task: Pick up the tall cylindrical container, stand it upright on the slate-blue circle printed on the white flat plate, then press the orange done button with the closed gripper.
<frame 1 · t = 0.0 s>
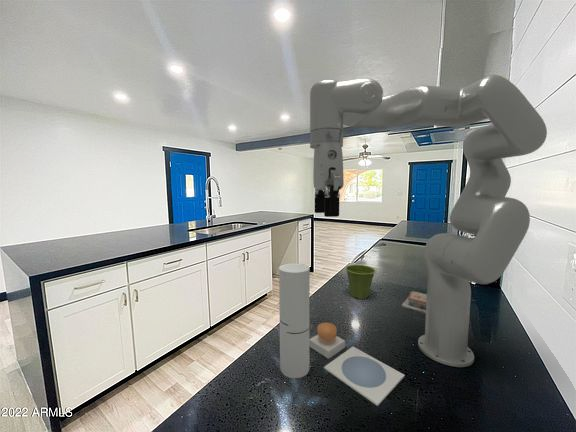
hand: (325, 214, 58), 37 cm above the worktop, tool pointing down, fingers open, 9 cm apart
done button: (327, 331, 67), point 5 cm above the worktop, slide at 0.0 cm
white flat plate: (363, 372, 58), on the worktop
plant pot: (359, 296, 101), on the worktop
button housing: (326, 346, 68), on the worktop
cylindrical container: (294, 368, 60), on the worktop
packaged product: (431, 311, 89), on the worktop
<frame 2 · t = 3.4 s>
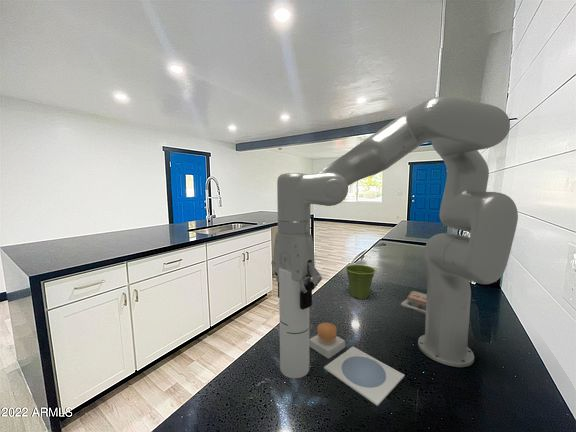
hand: (294, 301, 58), 17 cm above the worktop, tool pointing down, fingers closed on cylindrical container, 7 cm apart
cylindrical container: (294, 368, 60), on the worktop, touching gripper
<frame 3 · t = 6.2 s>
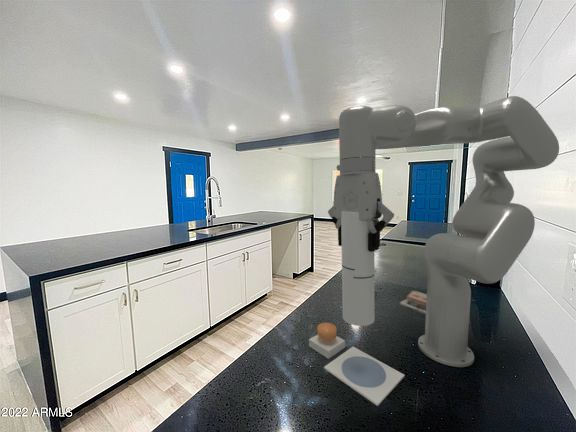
hand: (357, 247, 56), 30 cm above the worktop, tool pointing down, fingers closed on cylindrical container, 7 cm apart
cylindrical container: (358, 318, 57), point 13 cm above the worktop, touching gripper
when the fingers open (18 cm above the worktop, at t = 9.4 s): cylindrical container stays where it is, resting on white flat plate.
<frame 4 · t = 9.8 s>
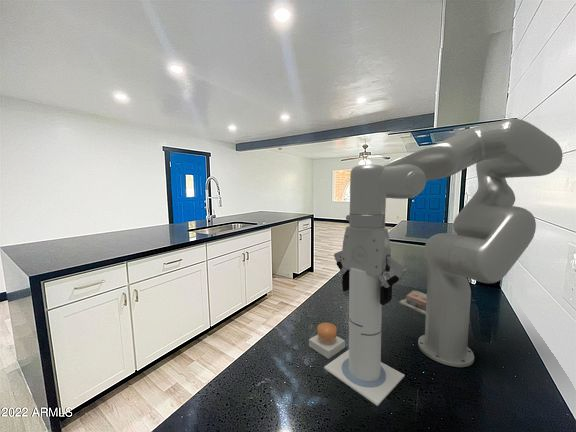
hand: (365, 295, 56), 19 cm above the worktop, tool pointing down, fingers open, 9 cm apart
cylindrical container: (364, 371, 58), resting on white flat plate
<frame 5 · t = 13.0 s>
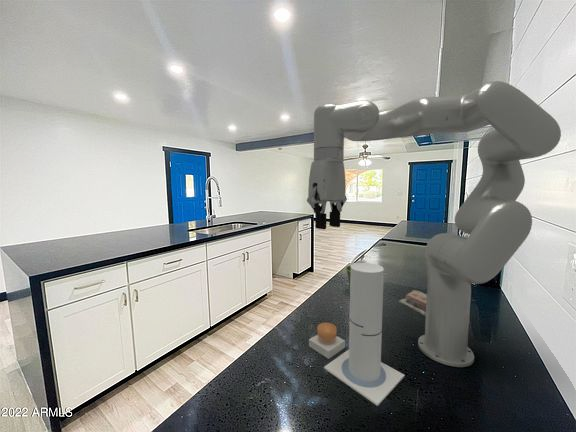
hand: (327, 227, 65), 33 cm above the worktop, tool pointing down, fingers open, 4 cm apart
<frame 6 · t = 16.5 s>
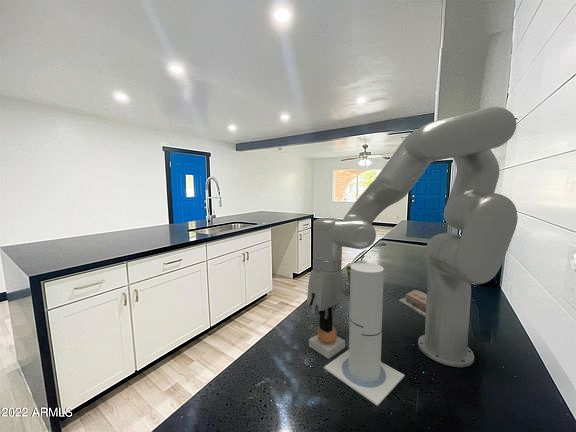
hand: (325, 329, 67), 5 cm above the worktop, tool pointing down, fingers closed
done button: (327, 333, 68), point 4 cm above the worktop, slide at 0.6 cm, touching gripper
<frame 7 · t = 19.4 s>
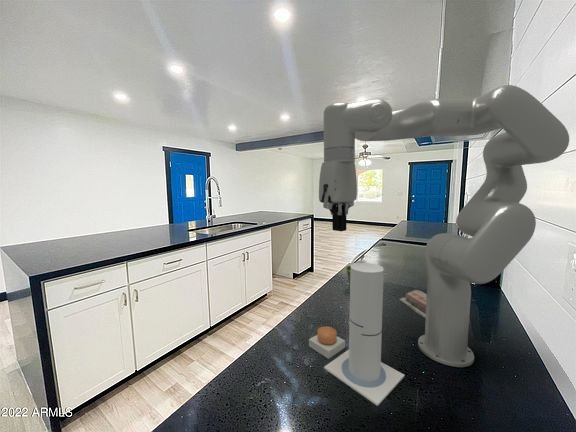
hand: (339, 230, 63), 33 cm above the worktop, tool pointing down, fingers closed
done button: (326, 334, 68), point 3 cm above the worktop, slide at 1.1 cm
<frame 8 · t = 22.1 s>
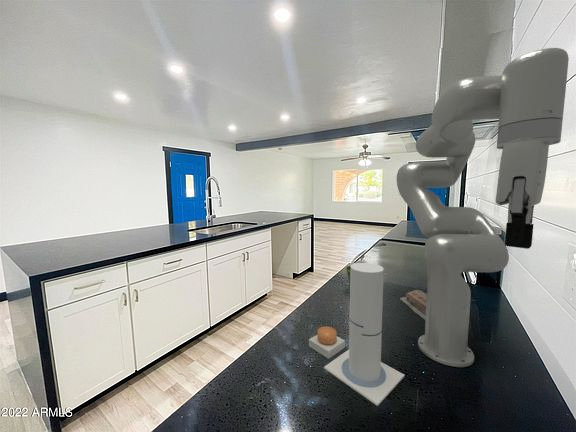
hand: (517, 246, 42), 33 cm above the worktop, tool pointing down, fingers closed
at the end: cylindrical container inside the target area on the white flat plate (0.2 cm from its centre), point 0.3 cm above the white flat plate's base; cylindrical container tilted 0°; done button slide at 1.1 cm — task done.
